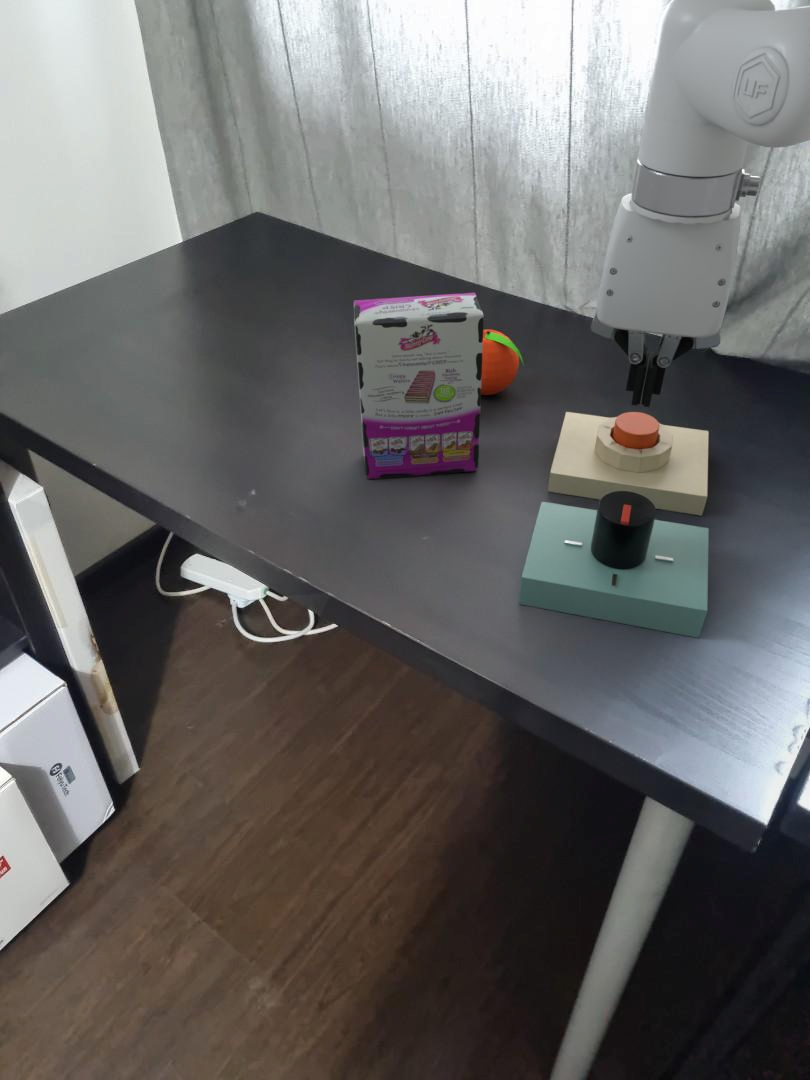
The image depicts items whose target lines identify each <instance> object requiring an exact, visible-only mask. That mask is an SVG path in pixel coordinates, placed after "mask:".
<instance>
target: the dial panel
mask: <svg viewBox="0 0 810 1080" xmlns="http://www.w3.org/2000/svg"><path fill="white" fill-rule="evenodd" d="M596 514H597V509H592V508H584V507H578V506H572V505H566V504H560V503H553V502H548V501H547V502H546V501H541V503H540V506H539V509H538V513H537V517H536V521H535V525H534V529H533V532H532V536H531V539H530V540H531V541H530V543H529V546H528V550H527V555H526V558H525V562H524V566H523V569H522V573H521V578H520V587H519V597H518V605H522V606H528V607H532V608H537V609H543V610H549V611H553V612H559V613H565V614H570V615H575V616H580V617H585V618H591V619H596V620H602V621H605V622H606V621H608V622H612V623H616V624H617V623H618V624H622V625H627V626H634V627H638V628H644V629H649V630H654V631H655V630H656V631H659V632H666V633H670V634H675V635H680V636H685V637H692V638H695V639H699V638H700V636H701V633H702V629H703V627H704V623H705V620H706V616H707V614H708V607H709V606H708V605H709V604H708V603H709V600H708V599H709V597H708V596H709V593H708V592H709V545H710V543H709V540H710V539H709V538H710V537H709V535H710V533H709V532H710V528H708V527H703V526H697V525H690V524H684V523H679V522H678V523H677V522H671V521H666V520H659V519H655V521H654V525H653V529H652V534H651V538H650V542H649V546H648V550H647V555H646V558H645V560H644V562H643V563H642V564H640V565H639V566H637V567H634V568H631V569H615V568H611V567H608V566H606V565H604V564H602V563H600V562H599V561H598V560H596V558H595V557H594V556H593V554H592V552H591V542H592V536H593V531H594V525H595V519H596Z"/></svg>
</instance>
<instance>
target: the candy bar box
mask: <svg viewBox="0 0 810 1080" xmlns="http://www.w3.org/2000/svg"><path fill="white" fill-rule="evenodd" d="M477 298H478V296H477V294H476V292H467V293H465V292H464V293H450V294H447V293H446V294H434V295H433V294H431V295H418V296H417V295H416V296H404V297H403V296H402V297H390V298H373V299H358V300H355V299H354V300H353V317H354V318H353V320H354V340H355V351H356V364H357V365H356V366H357V380H358V394H359V409H360V425H361V439H362V453H363V465H364V475H365V478H366V479H369V480H375V479H389V478H391V479H392V478H403V477H414V476H415V477H416V476H429V475H441V474H454V473H465V472H476V471H478V470H479V459H480V457H479V456H480V454H479V453H480V431H481V400H482V399H481V398H482V395H481V379H482V350H483V330H485V329H484V326H485V325H484V323H485V322H484V320H485V318H484V317H485V315H484V313H483V311H482V308H481V306H480V303H479V301H478V299H477Z"/></svg>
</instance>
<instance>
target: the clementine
mask: <svg viewBox="0 0 810 1080" xmlns="http://www.w3.org/2000/svg"><path fill="white" fill-rule="evenodd" d="M520 361H521V363H522V366H523V367H525V365H524V361H523V356H522V354H521V352H520V350H519V349H518V347H517V346H516V345H515V343H514V342H513V341H512V340H511V339H510V337H509V336H506V334H504V333H502V332H500V331H498V330H494V329H483V350H482V379H481V396H490V395H496V394H498V393H501V392H503V391H504V390H506V389H507V388H508V387H509V386H510V385H511V384H512V383H513V381H514V380H515V378H516V376H517V374H518V370H519V366H520Z"/></svg>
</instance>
